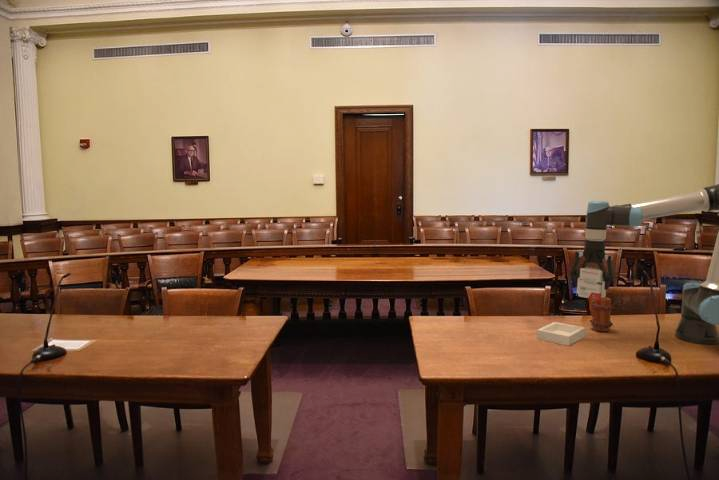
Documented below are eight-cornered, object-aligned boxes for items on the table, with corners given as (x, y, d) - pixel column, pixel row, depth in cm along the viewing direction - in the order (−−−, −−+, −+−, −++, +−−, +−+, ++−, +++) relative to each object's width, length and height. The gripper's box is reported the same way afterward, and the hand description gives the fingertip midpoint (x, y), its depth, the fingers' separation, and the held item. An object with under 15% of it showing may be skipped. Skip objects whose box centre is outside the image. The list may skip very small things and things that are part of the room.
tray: (585, 336, 206) (585, 327, 206) (568, 345, 194) (568, 336, 194) (554, 330, 215) (554, 321, 215) (536, 338, 203) (536, 329, 203)
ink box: (604, 298, 199) (606, 269, 197) (598, 300, 196) (601, 270, 194) (583, 294, 205) (585, 266, 204) (577, 296, 202) (579, 267, 201)
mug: (615, 333, 211) (617, 298, 209) (596, 333, 211) (598, 298, 209) (599, 324, 225) (601, 291, 224) (581, 323, 225) (583, 291, 224)
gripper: (627, 241, 193) (622, 298, 196) (571, 236, 208) (568, 289, 211) (621, 243, 188) (616, 301, 190) (564, 237, 203) (560, 291, 205)
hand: (590, 295), depth 200 cm, fingers closed on ink box, 9 cm apart
